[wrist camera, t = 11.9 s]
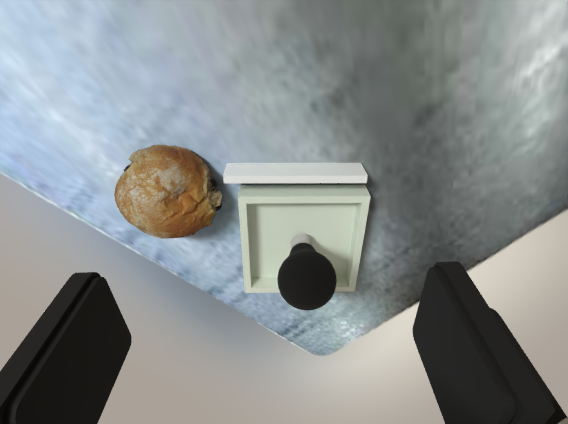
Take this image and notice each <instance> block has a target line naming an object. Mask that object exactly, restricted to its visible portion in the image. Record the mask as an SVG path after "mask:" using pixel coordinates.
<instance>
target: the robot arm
mask: <svg viewBox="0 0 568 424" xmlns="http://www.w3.org/2000/svg"><path fill="white" fill-rule="evenodd" d="M413 337H414V341H415V343H416V346H417V349H418V351H419V354H420V357H421V360H422V362H423V365H424V367H425V370H426V373H427V376H428V378H429V381H430V384H431V386H432V389H433V392H434V394H435V397H436V400H437V403H438V405H439V408H440V411H441V413H442V416H443V419H444V421H445V424H568V418H567V416H566V415H565V413H564V412H563V410H562V409H561V407H560V406H559V404H558V402H557V401H556V400H555V398H554V396H553V395H552V393H551V392H550V390H549V389H548V388H547V386H546V384H545V383H544V381H543V380H542V378H541V377H540V375H539V374H538V372H537V371H536V370H535V368H534V366H533V365H532V363H531V362H530V360H529V359H528V357H527V356H526V354H525V353H524V351H523V350H522V349H521V347H520V345H519V344H518V342H517V341H516V339H515V338H514V336H513V335H512V333H511V332H510V330H509V329H508V327H507V325H506V324H505V322H504V321H503V319H502V318H501V317H500V315H499V314H498V313H497V312H496V311H495V310H493V309H491V308H489V306H488V305H487V303H486V302H485V300H484V298H483V297H482V295H481V294H480V292H479V291H478V289H477V288H476V286H475V285H474V283H473V281H472V280H471V278H470V277H469V275H468V274H467V272H466V271H465V269H464V267H463V266H462V265H461V263H459V262H437V263H436V264H435V265H434V267H432V268H429V270H428V273H427V277H426V280H425V284H424V288H423V292H422V295H421V299H420V303H419V307H418V311H417V314H416V318H415V322H414V325H413ZM130 346H131V334H130V332H129V329H128V327H127V325H126V323H125V321H124V319H123V316H122V314H121V312H120V310H119V308H118V305H117V303H116V301H115V299H114V297H113V294H112V292H111V290H110V288H109V286H108V283H107V281H106V279H105V278H104V277H101V276H100V275H99V274H98V273H96V272H88V273H75V274H73V275H72V276H71V277H70V278H69V280H68V281H67V282H66V284H65V285H64V286H63V288H62V289H61V290H60V292H59V293H58V294H57V296H56V297H55V298H54V300H53V301H52V303H51V304H50V305H49V306H48V308H47V309H46V310H45V312H44V313H43V314H42V316H41V317H40V318H39V320H38V321H37V323H36V324H35V325H34V327H33V328H32V329H31V331H30V332H29V333H28V335H27V336H26V337H25V339H24V340H23V342H22V343H21V344H20V346H19V347H18V348H17V350H16V351H15V352H14V354H13V355H12V356H11V358H10V359H9V360H8V362H7V363H6V364H5V366H4V367H3V369H2V370H1V371H0V424H97V423H98V420H99V419H100V416H101V414H102V411H103V409H104V407H105V404H106V402H107V400H108V397H109V395H110V393H111V390H112V388H113V386H114V383H115V381H116V379H117V376H118V374H119V372H120V370H121V367H122V365H123V362H124V360H125V358H126V355H127V353H128V351H129V349H130Z"/></svg>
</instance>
